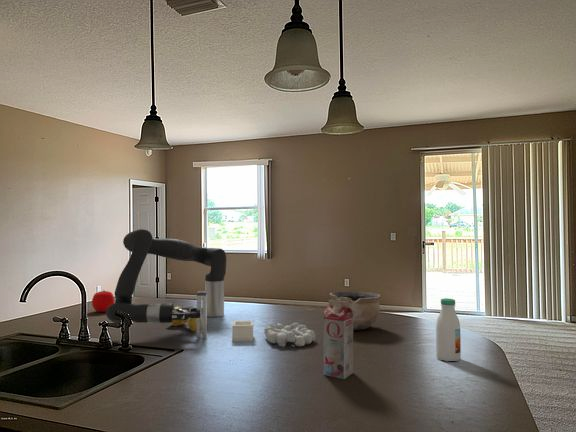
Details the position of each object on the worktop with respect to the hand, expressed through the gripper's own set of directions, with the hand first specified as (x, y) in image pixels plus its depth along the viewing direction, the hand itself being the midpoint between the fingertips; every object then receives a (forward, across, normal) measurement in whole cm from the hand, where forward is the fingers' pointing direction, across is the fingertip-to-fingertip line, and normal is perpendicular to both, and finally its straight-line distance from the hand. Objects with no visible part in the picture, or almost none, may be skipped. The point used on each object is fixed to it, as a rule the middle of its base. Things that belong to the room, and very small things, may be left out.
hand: (201, 312), depth 170 cm
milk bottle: (+86, -31, +10) cm, 93 cm away
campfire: (+34, -5, +11) cm, 36 cm away
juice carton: (+47, -44, +10) cm, 65 cm away
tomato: (-58, +55, +10) cm, 80 cm away
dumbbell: (-9, +18, +10) cm, 22 cm away
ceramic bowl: (+64, +13, +10) cm, 66 cm away
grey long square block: (0, 0, +10) cm, 10 cm away
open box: (+16, -2, +10) cm, 19 cm away
